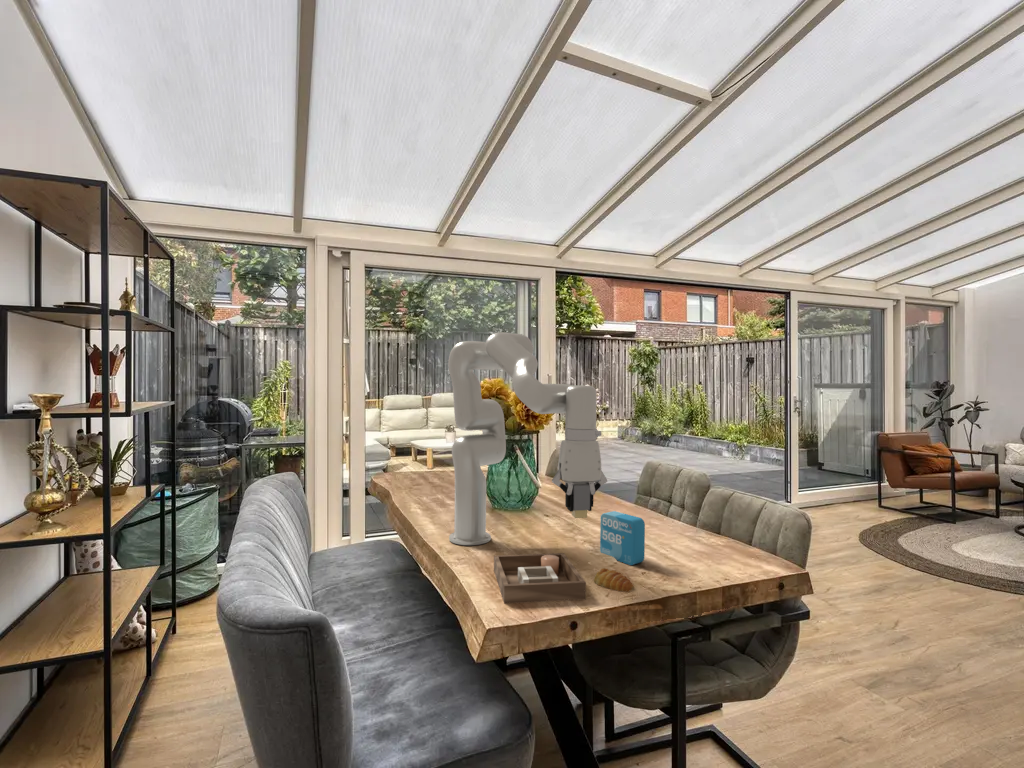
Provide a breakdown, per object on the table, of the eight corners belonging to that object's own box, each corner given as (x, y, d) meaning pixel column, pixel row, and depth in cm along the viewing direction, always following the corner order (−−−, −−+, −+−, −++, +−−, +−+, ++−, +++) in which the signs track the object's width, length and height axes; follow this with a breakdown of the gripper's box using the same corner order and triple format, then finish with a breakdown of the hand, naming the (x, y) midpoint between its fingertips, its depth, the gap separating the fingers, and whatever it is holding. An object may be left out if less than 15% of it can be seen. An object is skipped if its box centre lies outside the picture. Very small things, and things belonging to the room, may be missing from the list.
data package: (599, 555, 151) (600, 512, 151) (610, 551, 154) (611, 509, 153) (633, 567, 141) (634, 521, 141) (644, 563, 144) (645, 518, 144)
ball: (539, 571, 135) (539, 555, 135) (556, 570, 136) (556, 554, 136) (542, 577, 131) (543, 561, 131) (560, 576, 131) (560, 560, 131)
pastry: (640, 591, 126) (640, 575, 126) (622, 599, 121) (622, 582, 121) (608, 579, 133) (608, 564, 133) (590, 587, 128) (590, 571, 128)
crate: (493, 573, 135) (493, 555, 135) (563, 570, 138) (563, 553, 138) (504, 606, 116) (504, 586, 116) (585, 602, 118) (585, 582, 118)
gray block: (569, 514, 134) (569, 482, 134) (584, 514, 135) (585, 482, 135) (573, 518, 130) (574, 485, 130) (589, 518, 131) (590, 485, 131)
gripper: (607, 433, 138) (606, 505, 138) (543, 434, 135) (542, 507, 135) (618, 437, 130) (617, 512, 130) (551, 437, 127) (549, 514, 127)
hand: (579, 509), depth 133 cm, fingers closed on gray block, 4 cm apart
